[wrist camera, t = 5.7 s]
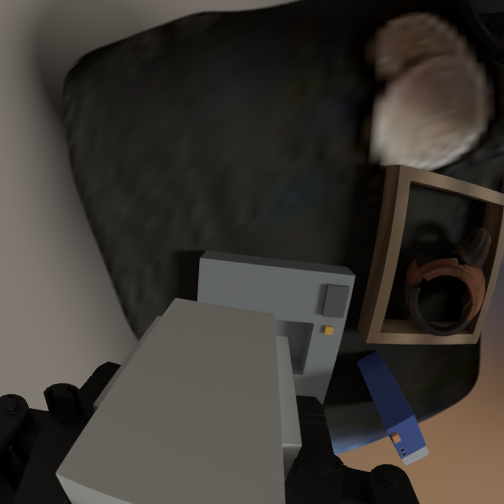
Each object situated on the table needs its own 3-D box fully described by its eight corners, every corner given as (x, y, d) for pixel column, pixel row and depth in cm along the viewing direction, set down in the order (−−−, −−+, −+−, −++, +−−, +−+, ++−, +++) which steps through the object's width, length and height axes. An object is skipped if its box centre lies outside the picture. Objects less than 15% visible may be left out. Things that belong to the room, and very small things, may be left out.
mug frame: (493, 194, 27) (511, 197, 24) (462, 330, 31) (476, 343, 28) (386, 165, 28) (400, 164, 24) (357, 327, 32) (365, 342, 28)
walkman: (355, 361, 33) (386, 433, 21) (377, 349, 32) (415, 417, 20) (377, 402, 34) (406, 469, 22) (396, 391, 33) (430, 456, 22)
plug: (274, 313, 14) (288, 615, 2) (258, 391, 15) (248, 629, 3) (175, 297, 14) (14, 541, 2) (172, 376, 15) (82, 591, 3)
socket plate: (347, 266, 30) (357, 277, 27) (317, 395, 34) (321, 414, 30) (206, 250, 30) (198, 259, 27) (199, 383, 34) (193, 401, 31)
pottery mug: (456, 320, 32) (456, 358, 25) (395, 286, 35) (383, 317, 29) (504, 236, 26) (521, 258, 19) (437, 197, 30) (438, 209, 23)
